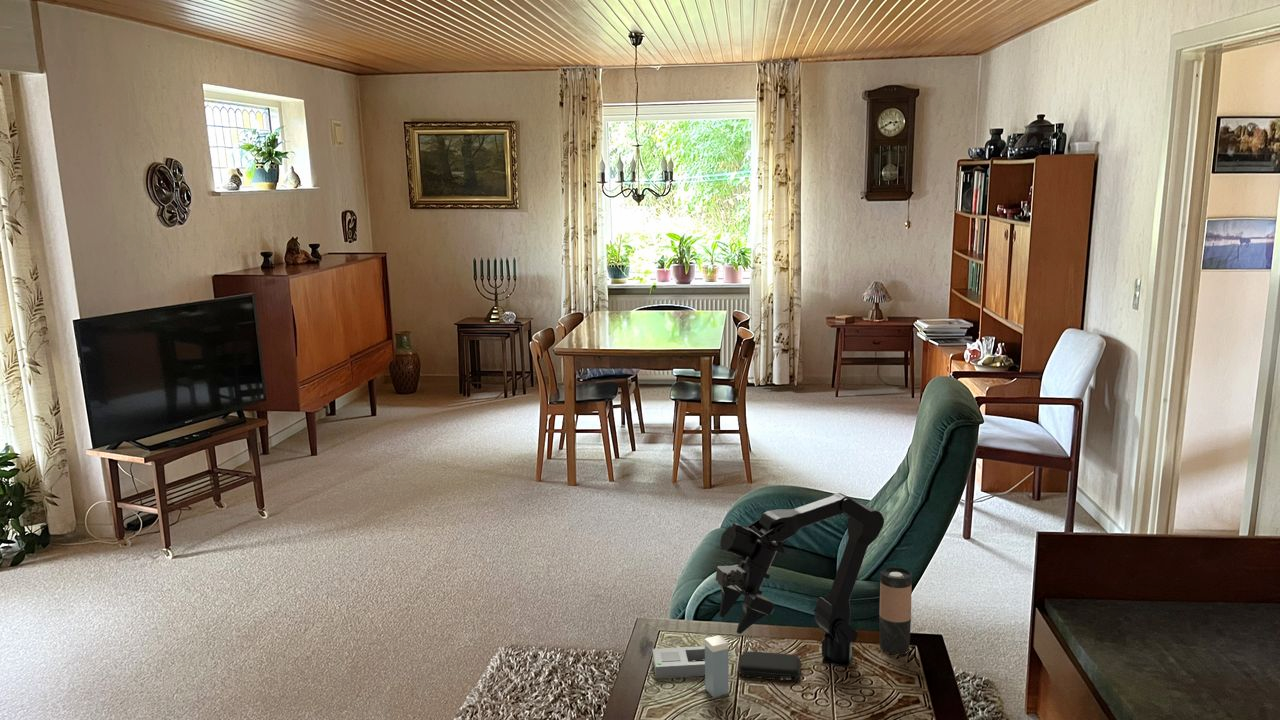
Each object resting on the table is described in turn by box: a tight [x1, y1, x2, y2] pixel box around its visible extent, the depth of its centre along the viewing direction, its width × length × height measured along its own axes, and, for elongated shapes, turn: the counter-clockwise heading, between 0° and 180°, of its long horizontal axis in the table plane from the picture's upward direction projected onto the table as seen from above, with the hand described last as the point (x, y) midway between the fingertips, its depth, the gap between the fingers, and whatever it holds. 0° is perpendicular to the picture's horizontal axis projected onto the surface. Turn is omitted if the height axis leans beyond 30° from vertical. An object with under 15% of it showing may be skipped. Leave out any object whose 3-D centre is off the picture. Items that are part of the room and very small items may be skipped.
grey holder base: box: [652, 645, 705, 680], centre depth 214 cm, size 16×9×3 cm, turn 94°
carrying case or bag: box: [737, 650, 802, 682], centre depth 212 cm, size 11×3×15 cm
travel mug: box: [878, 566, 913, 655], centre depth 221 cm, size 8×8×20 cm
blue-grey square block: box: [704, 634, 730, 698], centre depth 202 cm, size 4×4×12 cm
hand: (729, 624), depth 205 cm, fingers open, 9 cm apart
